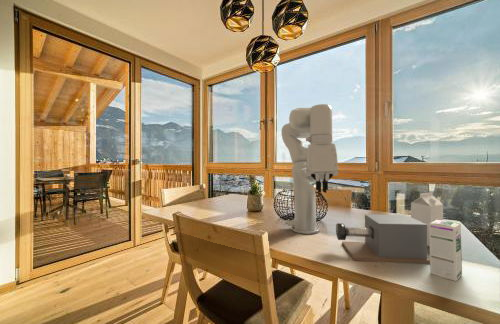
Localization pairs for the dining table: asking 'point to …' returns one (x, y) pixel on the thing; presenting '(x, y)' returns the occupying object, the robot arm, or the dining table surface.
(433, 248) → the syrup box
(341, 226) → the shaft
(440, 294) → the dining table surface
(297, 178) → the robot arm
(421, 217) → the milk carton
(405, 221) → the block
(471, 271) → the dining table surface
